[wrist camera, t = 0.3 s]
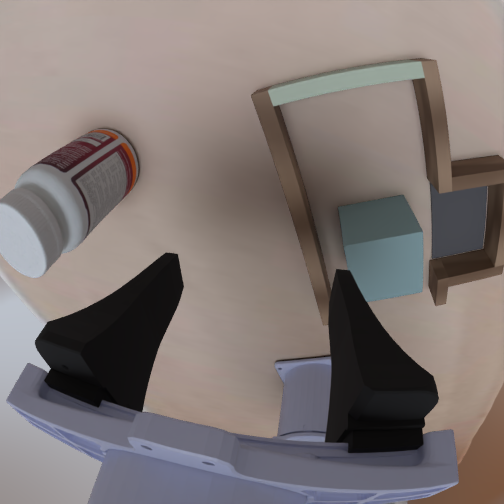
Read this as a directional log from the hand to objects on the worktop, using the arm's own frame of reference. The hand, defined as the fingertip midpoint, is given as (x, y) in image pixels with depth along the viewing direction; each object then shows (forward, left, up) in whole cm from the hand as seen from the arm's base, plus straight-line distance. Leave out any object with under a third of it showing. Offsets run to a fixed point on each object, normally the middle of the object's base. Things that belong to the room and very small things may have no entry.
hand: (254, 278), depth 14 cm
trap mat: (-5, -14, -10) cm, 18 cm away
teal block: (-5, -7, -10) cm, 13 cm away
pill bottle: (+6, +12, -10) cm, 17 cm away
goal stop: (+6, -7, -10) cm, 13 cm away
